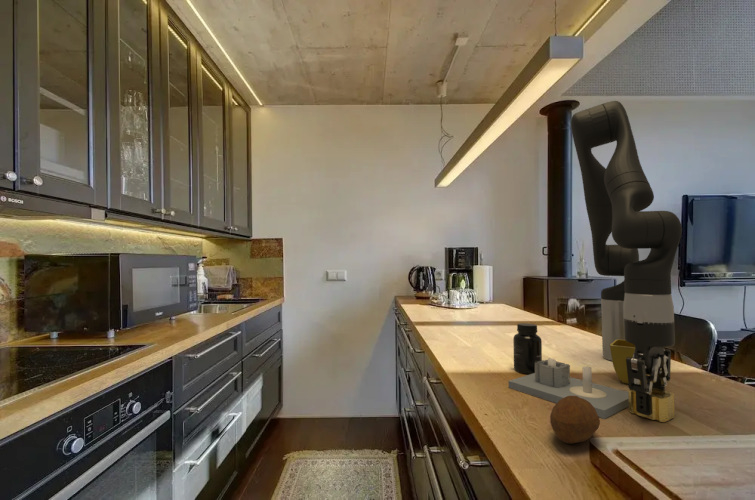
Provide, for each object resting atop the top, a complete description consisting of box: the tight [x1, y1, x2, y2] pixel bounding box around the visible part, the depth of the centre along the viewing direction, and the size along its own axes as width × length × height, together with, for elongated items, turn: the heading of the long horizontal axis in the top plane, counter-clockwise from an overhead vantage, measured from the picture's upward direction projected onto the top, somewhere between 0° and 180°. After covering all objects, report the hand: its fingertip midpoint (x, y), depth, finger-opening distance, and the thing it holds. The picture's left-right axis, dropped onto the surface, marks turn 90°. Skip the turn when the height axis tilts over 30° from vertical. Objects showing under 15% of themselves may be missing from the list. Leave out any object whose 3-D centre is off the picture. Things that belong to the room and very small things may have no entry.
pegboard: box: [507, 358, 629, 420], centre depth 77 cm, size 14×20×6 cm
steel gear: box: [535, 359, 571, 388], centre depth 80 cm, size 6×6×4 cm
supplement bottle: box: [512, 322, 543, 375], centre depth 94 cm, size 7×7×12 cm
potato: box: [549, 396, 601, 445], centre depth 57 cm, size 7×12×7 cm, turn 145°
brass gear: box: [627, 388, 676, 423], centre depth 67 cm, size 6×6×4 cm
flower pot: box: [610, 339, 648, 385], centre depth 84 cm, size 9×9×9 cm
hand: (651, 409), depth 67 cm, fingers closed on brass gear, 5 cm apart
